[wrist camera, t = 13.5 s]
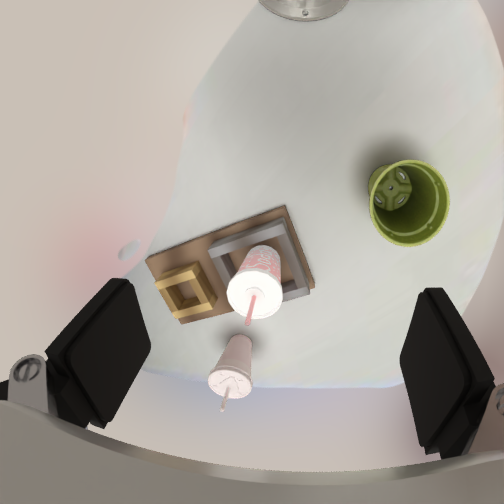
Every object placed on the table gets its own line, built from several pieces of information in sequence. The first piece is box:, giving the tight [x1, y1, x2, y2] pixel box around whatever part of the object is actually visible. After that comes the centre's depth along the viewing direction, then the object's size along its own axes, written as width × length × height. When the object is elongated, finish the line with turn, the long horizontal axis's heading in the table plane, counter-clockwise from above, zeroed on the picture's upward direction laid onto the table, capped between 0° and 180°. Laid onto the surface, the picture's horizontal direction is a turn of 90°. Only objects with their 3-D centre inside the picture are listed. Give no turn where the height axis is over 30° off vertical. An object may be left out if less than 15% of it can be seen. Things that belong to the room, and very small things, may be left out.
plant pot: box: [368, 159, 450, 247], centre depth 32 cm, size 9×9×9 cm
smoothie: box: [208, 334, 253, 412], centre depth 42 cm, size 6×6×14 cm
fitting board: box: [145, 206, 315, 324], centre depth 42 cm, size 22×12×4 cm, turn 113°
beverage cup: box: [227, 245, 283, 326], centre depth 34 cm, size 6×6×14 cm
